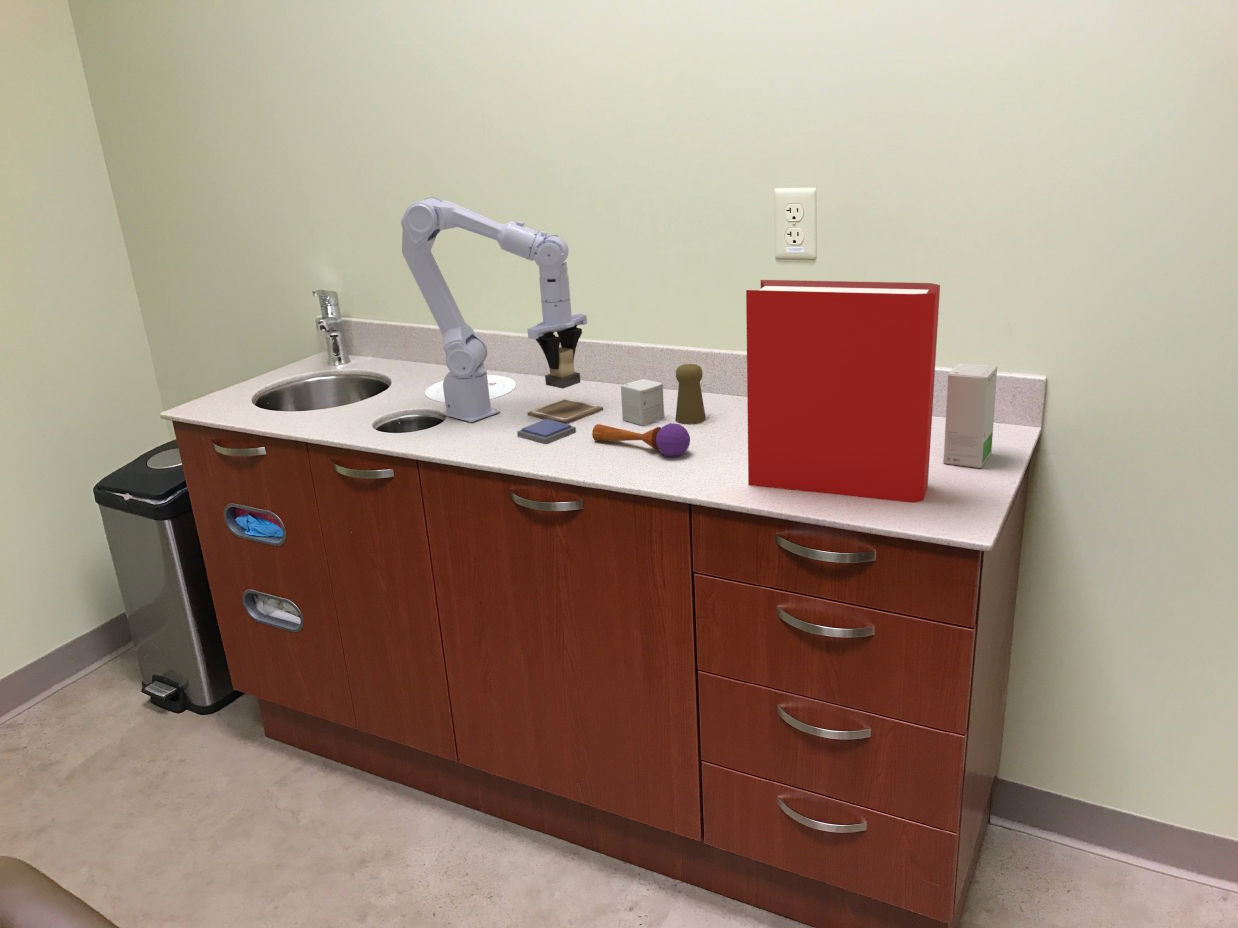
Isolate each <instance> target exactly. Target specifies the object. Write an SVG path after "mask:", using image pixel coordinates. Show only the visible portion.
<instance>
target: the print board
mask: <svg viewBox="0 0 1238 928" xmlns="http://www.w3.org/2000/svg"><path fill="white" fill-rule="evenodd" d="M603 410H604V407H603V406H600V405H596V404H592V403H587V402H583V401H578V400H573V399H569V398H563V399H560V400H558V401H555V402H553V403H550V404H547V405H544V406H542V407H539V408H536V409H534V410H530V411H528V412H527V413H526V414H527V416H530V417H533V418H538V419H541V420H545V419H549V420H553V421H557V422H561V423H565V424H570V423H573V422H575V421H578V420H580V419H582V418H586V417H588V416H591V415H594V414H596V413H598V412H602V411H603Z"/></svg>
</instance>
